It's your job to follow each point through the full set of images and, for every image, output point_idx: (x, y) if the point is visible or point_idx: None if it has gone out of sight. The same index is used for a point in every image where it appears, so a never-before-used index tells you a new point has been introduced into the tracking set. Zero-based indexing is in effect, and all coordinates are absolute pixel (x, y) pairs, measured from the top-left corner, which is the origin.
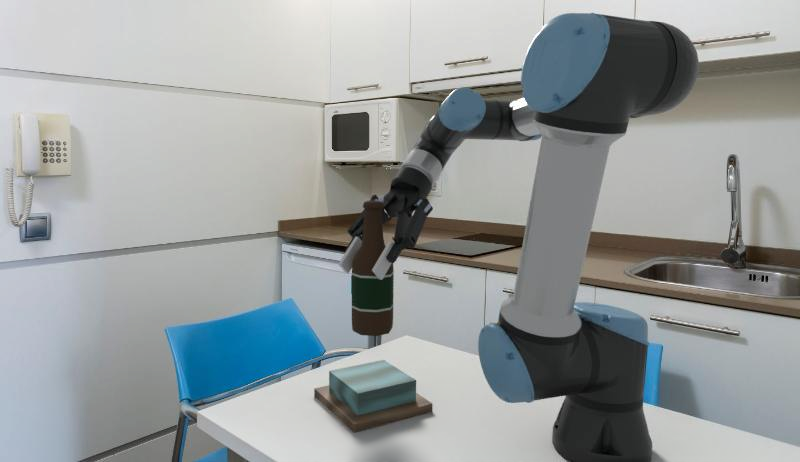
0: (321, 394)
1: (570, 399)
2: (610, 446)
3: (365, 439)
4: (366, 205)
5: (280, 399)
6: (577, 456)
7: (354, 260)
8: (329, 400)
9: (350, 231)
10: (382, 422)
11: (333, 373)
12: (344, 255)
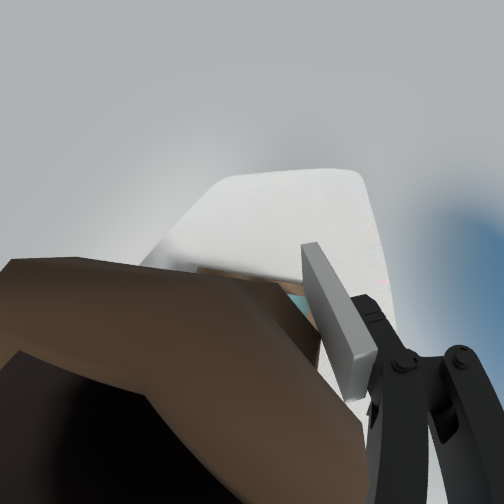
0: (301, 285)
1: None
2: None
3: (178, 269)
4: (78, 259)
5: (341, 248)
6: None
7: (268, 284)
8: (277, 282)
9: (451, 355)
10: None
11: (296, 296)
12: (326, 266)
